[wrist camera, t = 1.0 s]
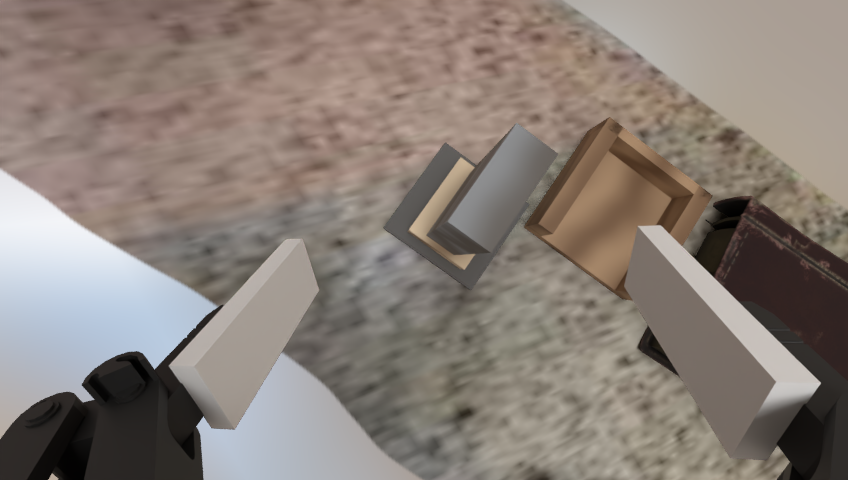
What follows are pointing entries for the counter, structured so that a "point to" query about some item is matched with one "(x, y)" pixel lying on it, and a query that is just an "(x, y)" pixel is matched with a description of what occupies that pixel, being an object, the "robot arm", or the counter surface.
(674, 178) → the tray
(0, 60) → the counter surface
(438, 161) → the mat
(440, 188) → the grey tall block
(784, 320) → the diary
